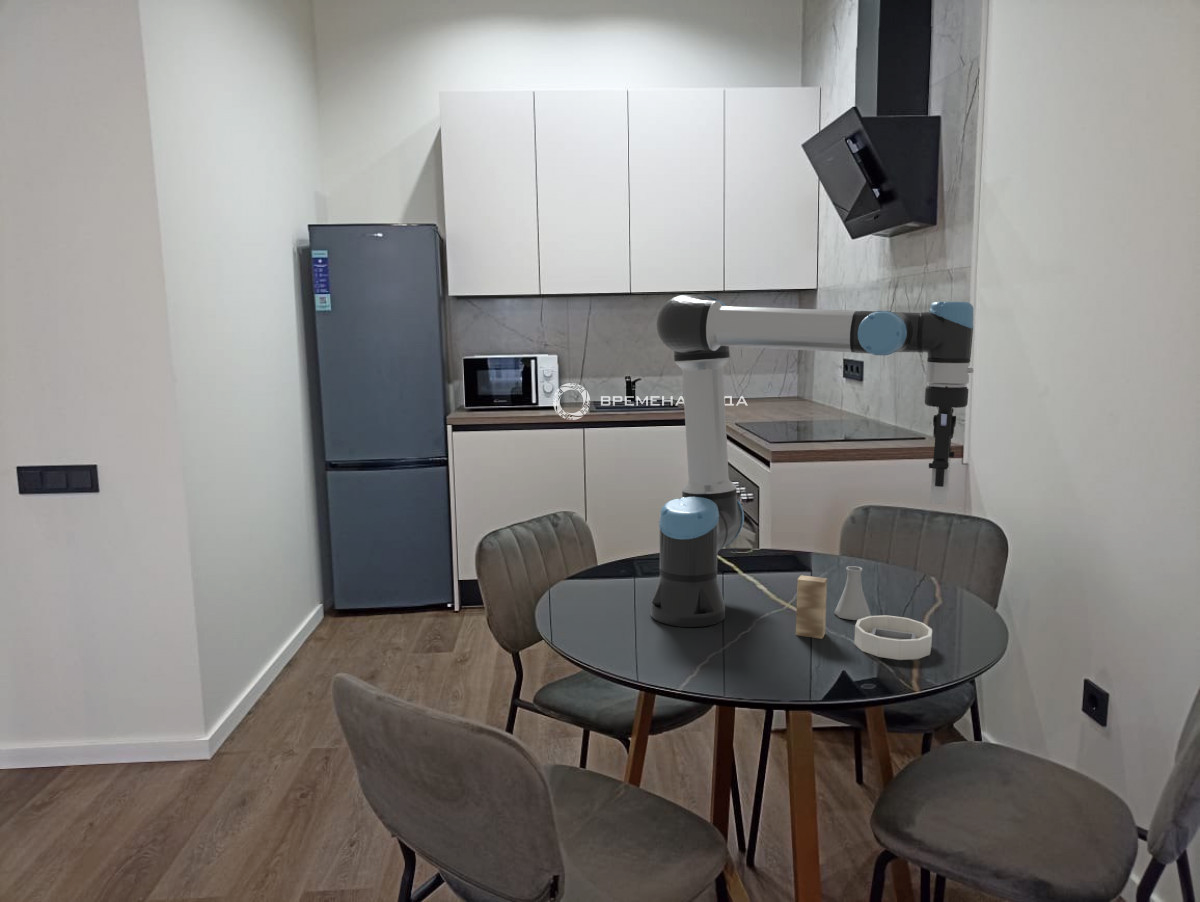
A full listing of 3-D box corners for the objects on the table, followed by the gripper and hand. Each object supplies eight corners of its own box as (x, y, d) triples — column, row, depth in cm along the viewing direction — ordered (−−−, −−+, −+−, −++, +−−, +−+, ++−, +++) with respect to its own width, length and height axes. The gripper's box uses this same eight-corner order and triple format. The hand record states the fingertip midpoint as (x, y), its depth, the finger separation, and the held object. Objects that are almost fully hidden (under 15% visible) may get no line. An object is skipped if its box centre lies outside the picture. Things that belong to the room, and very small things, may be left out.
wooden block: (795, 635, 166) (797, 579, 164) (798, 629, 169) (800, 575, 167) (822, 638, 164) (824, 582, 162) (825, 633, 167) (827, 578, 165)
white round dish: (850, 652, 157) (851, 634, 156) (860, 629, 169) (861, 611, 168) (928, 664, 152) (929, 645, 151) (932, 639, 164) (933, 621, 163)
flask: (872, 622, 173) (874, 574, 171) (835, 620, 174) (837, 572, 173) (869, 610, 180) (871, 564, 178) (832, 608, 181) (834, 562, 180)
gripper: (968, 390, 149) (959, 511, 153) (969, 381, 172) (961, 486, 175) (921, 389, 152) (914, 507, 155) (929, 380, 175) (922, 483, 178)
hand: (939, 496), depth 165 cm, fingers open, 13 cm apart
